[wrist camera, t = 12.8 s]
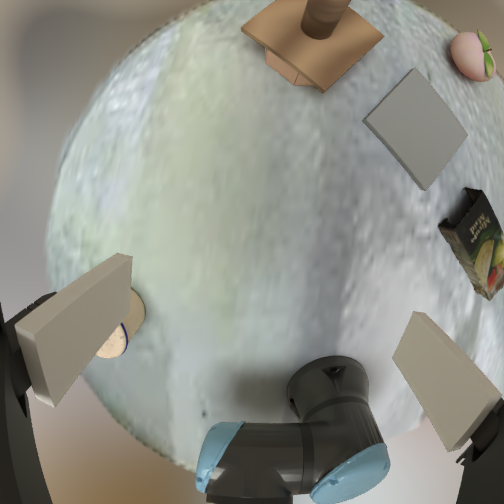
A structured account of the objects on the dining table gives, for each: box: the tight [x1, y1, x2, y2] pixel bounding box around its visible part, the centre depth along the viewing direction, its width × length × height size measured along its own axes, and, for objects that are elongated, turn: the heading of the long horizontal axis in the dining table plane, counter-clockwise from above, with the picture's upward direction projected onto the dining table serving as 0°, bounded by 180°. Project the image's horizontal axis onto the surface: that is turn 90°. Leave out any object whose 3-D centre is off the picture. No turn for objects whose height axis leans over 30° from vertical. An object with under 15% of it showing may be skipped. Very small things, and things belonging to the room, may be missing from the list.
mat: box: [363, 68, 468, 191], centre depth 34 cm, size 14×14×2 cm
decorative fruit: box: [451, 30, 496, 82], centre depth 26 cm, size 9×8×10 cm
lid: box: [241, 0, 385, 93], centre depth 21 cm, size 13×13×11 cm
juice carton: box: [439, 188, 504, 301], centre depth 37 cm, size 20×10×6 cm, turn 48°
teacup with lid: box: [96, 289, 145, 358], centre depth 39 cm, size 12×9×12 cm
